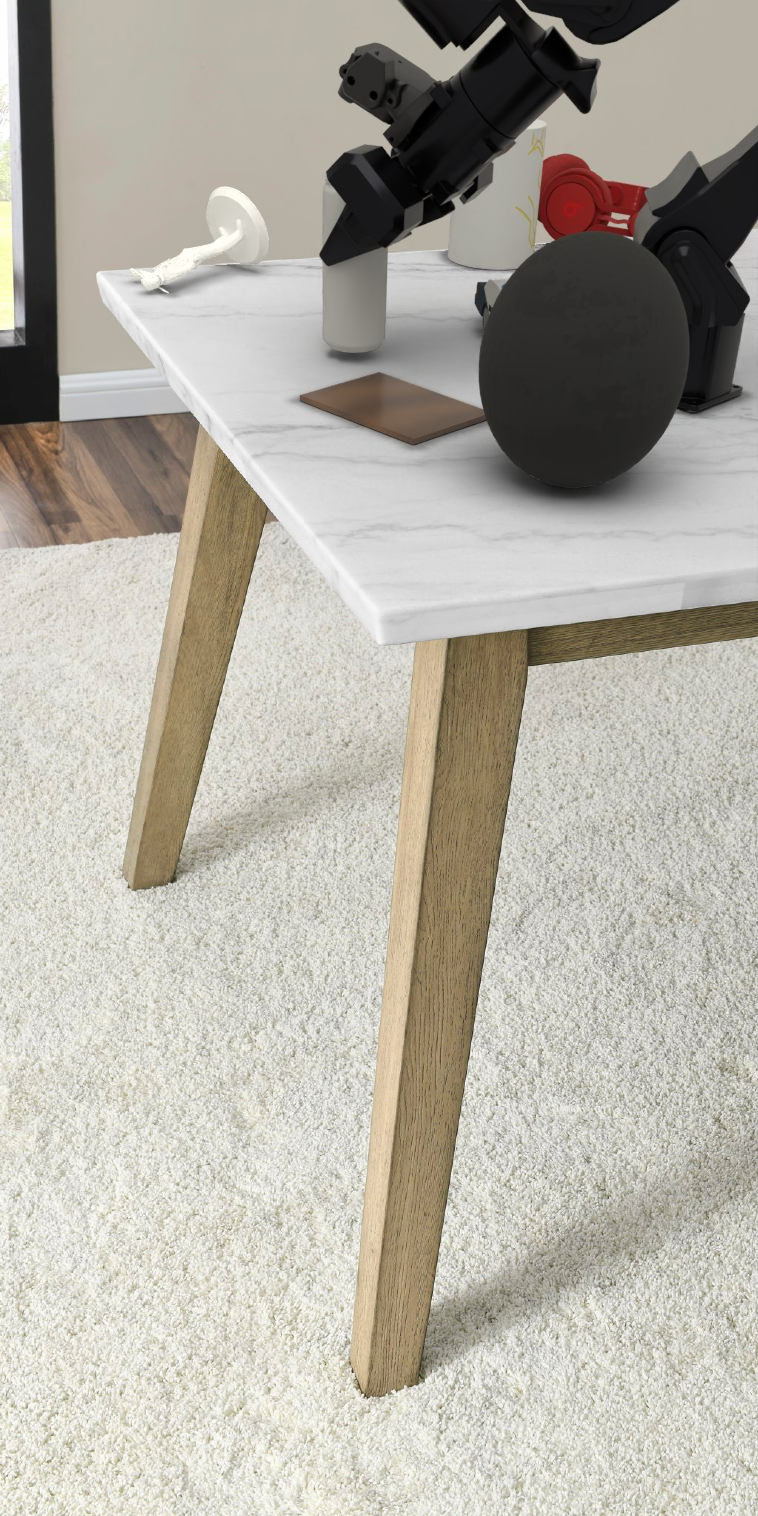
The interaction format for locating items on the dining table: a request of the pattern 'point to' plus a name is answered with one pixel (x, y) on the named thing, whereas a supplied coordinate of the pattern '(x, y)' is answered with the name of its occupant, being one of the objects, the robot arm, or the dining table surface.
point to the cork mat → (395, 407)
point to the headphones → (584, 199)
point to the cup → (502, 209)
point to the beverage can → (352, 290)
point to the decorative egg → (584, 359)
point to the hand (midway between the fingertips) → (338, 252)
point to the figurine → (217, 239)
